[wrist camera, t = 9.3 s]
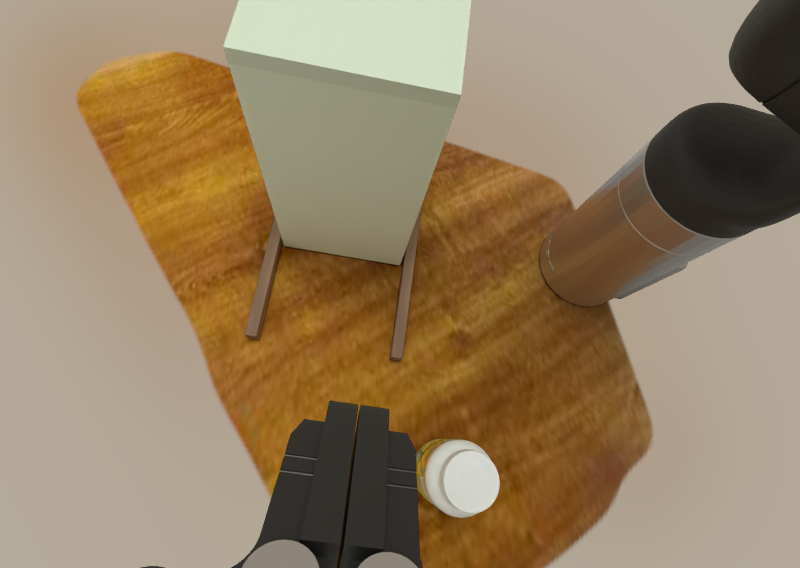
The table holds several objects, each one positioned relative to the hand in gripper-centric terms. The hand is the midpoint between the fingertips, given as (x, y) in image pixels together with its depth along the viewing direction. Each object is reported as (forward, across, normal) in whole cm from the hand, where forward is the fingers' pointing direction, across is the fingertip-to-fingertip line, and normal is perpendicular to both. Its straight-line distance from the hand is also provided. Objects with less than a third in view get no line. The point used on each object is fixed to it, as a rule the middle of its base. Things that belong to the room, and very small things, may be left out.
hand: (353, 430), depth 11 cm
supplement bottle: (+20, -9, +23) cm, 31 cm away
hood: (+36, +3, +6) cm, 37 cm away
